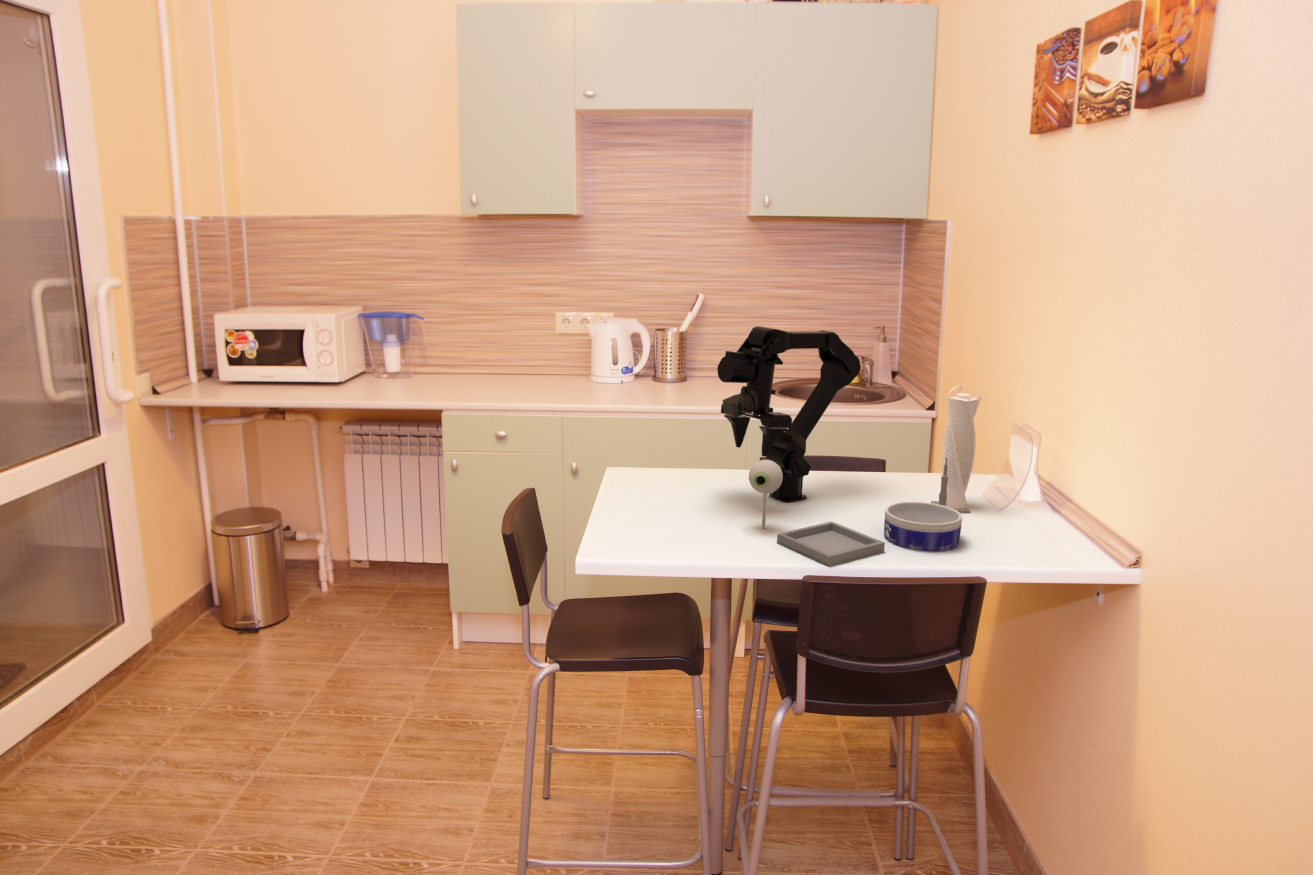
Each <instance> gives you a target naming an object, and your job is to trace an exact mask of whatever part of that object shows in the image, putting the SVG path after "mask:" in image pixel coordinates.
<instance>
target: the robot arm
mask: <svg viewBox="0 0 1313 875" xmlns="http://www.w3.org/2000/svg"><path fill="white" fill-rule="evenodd" d="M797 349H798V350H799V349H800V350H802V349H803V350H804V349H806V350H808V349H809V350H811V349H817V352H818V358H819V359H820V361H821V362H822V365H821V366H820V373H819V377H820V378H819V381H818V382H817V384H816V385H815V386H814V388H813V390H812V392H811V393H810V395H809V396H808V398H807V399H806V401H805V402H804V403H803V405H802V407H801V409H800V410H799V411H798V412H797V415H796V416H795V418H794V419H793V418H792V416H791V415H790V414H787V413H785V412H784V413H783V412H780V411H779V412H777V411H775V412H774V408H773V407H771V398H772V395H776V391H777V390H776V389H773V383H774V376H775V368H776V366H778V365H779V366H783V365H784V361H783V360H782V359H781V358H780V356H779V354H783V353H786V352H787V351H789V350H797ZM860 361H861V360H860V358H859V357H858V356H857V355H856V354H855V353H854V351H853V350H852V349H851V348H850V346H848V345H847V344H846V343H845V342H844V341H842V339H841V338H840V336H839V335H838V334H837V333H836V332H834V331H830V330H829V331H828V330H823V329H822V330H818V331H816V330H815V331H812V330H811V331H804V330H803V331H786V330H782V329H777V328H772V327H765V326H761V325H758V326H757V325H756V326H754V327H752V329H751V330H750V332H749V334H748V336H747V337H746V339H745V340H744V341H743V343H742V344H741V345H740V347H739V348H738V350H737V351H736V352H735V351H731V350H726V351H725V354H724V356H722V358H721V359H720V360H719V363H718V364H717V369H716V371H717V376H718V378H719V381H721V382H723V383H729V384H731V383H732V384H734V383H735V384H736V383H737V384H746V385H742V387H741V388H740V393H738V394H733V395H731V396H729V397H727V398H724V399H722V404H721V406H720V413H721V414H724V415H723V417H724V418H726V420H728V422H729V423H730V425H731V428H732V434H733V438H734V442H735V444H734V445H735V447H736V448H741V447H742V445H743V443H744V439H745V436H746V433H747V430H748V427H749V424H750V420H751V418H753V419H757V420H760V423H761V425H758V426H759V429H760V431H761V433H762V438H761V439H762V440H761V442H762V443H761V456H762V457H765V458H766V459H765V460H771V461H773V462H775V463H776V464H778V465H779V467H780V468H781V470H782V473H783V480H782V483H781V485H780V487H779V488H778V489H777V490H776V491H774V492H772V493H768V495H769V497H772V498H774V499H777V500H780V501H782V502H785V503H791V502H796V501H800V500H804V499H807V495H805V494H803V485H804V484H803V482H804V477H805V476H808V475H809V474H810V471H811V465H810V464H809V463H808V461H807V460H806V458H804V456H805V454H806V452H807V440H808V438H809V436H810V435H811V433H812V432H813V430H814V428H816V426H817V423H818V422H819V421H820V420H821V418H822V416H823V415H824V413H825V412H826V411H827V409H828V407H830V406H829V405H830V404H831V402H832V401H833V399H835V396H836V395H837V394H838V392H839V391H840V390H842V389H843V388H845V387H847V386H848V385H850V384H851V383H852V382H853V381H854V380H855V378H857V377H858V375H859V374H860V371H861V368H862V367H861V362H860Z"/></svg>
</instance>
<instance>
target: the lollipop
mask: <svg viewBox="0 0 1313 875" xmlns="http://www.w3.org/2000/svg"><path fill="white" fill-rule="evenodd" d="M782 480H783V473H782V470H781V468H780V467H779V465H778V464H776V463H775V462H773V461H771V460H767V459H760V460H758V461H756V462H755V463H754V464H753V465H752V466H751V468H750V470H749V472H748V481H749V483H750V486H751V487H752V488H753V490H755V491H756V492H758V493H760V494H763V495H762V497H763V498H762V515H761V516H762V517H761V519H762V520H761V529H766V519H767V518H766V517H767V494H768V495H769V493H773V492H774V491H776V490H777V489H778V488H779V487H780V485H781V483H782Z"/></svg>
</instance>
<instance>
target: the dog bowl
mask: <svg viewBox="0 0 1313 875" xmlns="http://www.w3.org/2000/svg"><path fill="white" fill-rule="evenodd" d="M962 521H963V516H962V513H959V512H958V511H956V510H954V509H952V508H949V507H947V506H943V505H939V504H933V503H931V502H926V501H925V502H923V501H900V502H895V503H892V504H889V505H888V506H886V507H885V510H884V522H883V524H884V527H883V528H884V529H883V532H884V533H883V536H884V539H885V540H886V541H887V542H888V543H890V544H892V545H894V546H896V547H899V548H903V549H906V550H911V551H916V552H927V553H928V552H932V553H935V552H936V553H937V552H946V551H951V550H954V549H956V548H957V547H958V546H959V544H960V538H961V531H962Z"/></svg>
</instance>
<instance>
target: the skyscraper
mask: <svg viewBox="0 0 1313 875" xmlns="http://www.w3.org/2000/svg"><path fill="white" fill-rule="evenodd" d="M957 388H958V392H957V394H956V396H955V395H953V396H951V393H952V392H953V391H954V390H955V389H957ZM961 391H962V385H961V384H958V385H955V386H953V387H952V388H950V390H949V392H948V394H947V396H946V403H947V405H946V406H947V411H948V412H947V413H948V421H947V423H946V428H945V431H944V437H943V445H942V453H941V454H942V455H941V456H942V457H941V469H942V470H941V472H942V474H941V479H940V480H941V481H940V491H939V493H938V501H937V500H930V503H933V504H939V505H943V506H947V507H949V508H952V509H954V510H956V511H958V512H959V513H960V514H971V510H970V509H969V506H968V501H967V499H966V491H967V489H968V486H969V482H970V478H971V475H972V470H973V465H974V463H975V462H974V461H975V455H976V430H975V429H976V428H975V420H974V418H975V416H976V413H977V410H978V407H979V404H980V402H981V399H982V398H981V396H980V395H976V396H975V395H974V396H972V397H971V395H970V394H969V393H965V392H964V393H962V392H961ZM950 396H951V397H950Z"/></svg>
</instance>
